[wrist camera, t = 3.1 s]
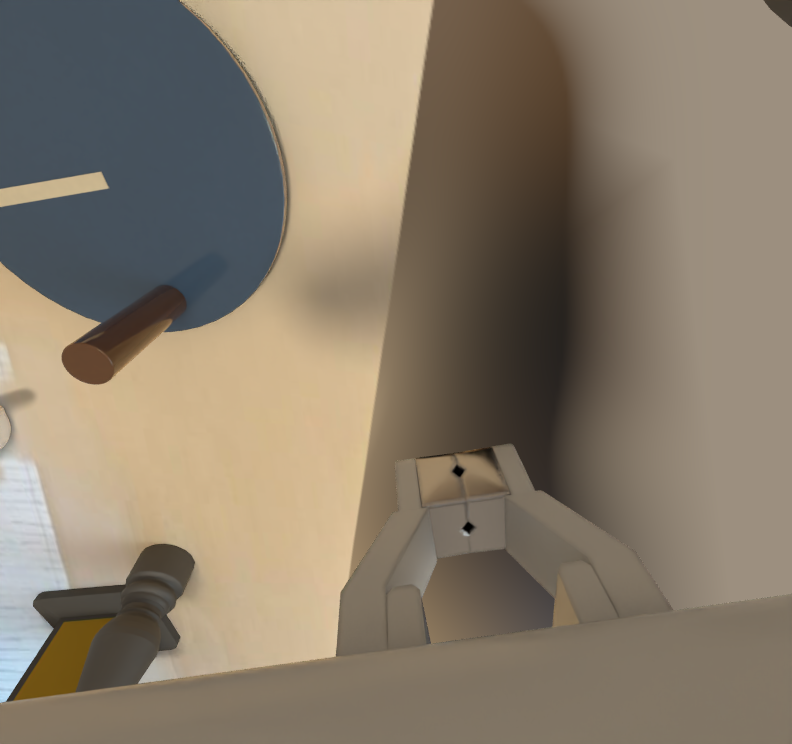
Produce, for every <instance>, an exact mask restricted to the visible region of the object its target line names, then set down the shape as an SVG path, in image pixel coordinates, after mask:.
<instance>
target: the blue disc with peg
mask: <svg viewBox="0 0 792 744" xmlns="http://www.w3.org/2000/svg"><path fill="white" fill-rule="evenodd" d="M286 209H287V191H286V178H285V171H284V166H283V161H282V156H281V151H280V147H279V144H278V141H277V138H276V135H275V131H274V128H273V125H272V123H271V121H270V118H269V116H268V114H267V112H266V109H265V107H264V105H263V102H262V100H261V98H260V97H259V95H258V93H257V91H256V90H255V88H254V86H253V84H252V83H251V81H250V79H249V77H248V76H247V74H246V73H245V71H244V70H243V68H242V67H241V66H240V64H239V63H238V61H237V60H236V59H235V57H234V56H233V54H232V53H231V52H230V50H229V49H228V48H227V47H226V46H225V45H224V43H223V42H222V41H221V40H220V39H219V38H218V37H217V36H216V34H215V33H214V32H213V31H212V30H211V29H210V28H209V27H208V26H207V25H206V24H205V23H204V22H203V21H202V20H201V19H200V18H199V17H198V16H196V15H195V14H194V13H193V12H192V11H191V10H190V9H189V8H188V7H187V6H185V5H184V4H183V3H181V2H180V1H179V0H0V262H1V263H2V264H3V265H4V266H5V267H6V268H8V269H9V270H10V271H11V272H12V273H14V274H15V275H16V276H17V277H19V278H20V279H21V280H22V281H23V282H25V283H26V284H28V285H29V286H30V287H32V288H33V289H35V290H36V291H38V292H39V293H41V294H42V295H44V296H45V297H47V298H49V299H50V300H52V301H54V302H56V303H57V304H59V305H61V306H63V307H64V308H66V309H69V310H71V311H73V312H75V313H77V314H80V315H82V316H84V317H86V318H89V319H92V320H95V321H98V322H101V324H99V325H98V326H96V327H95V328H93V329H92V330H90V331H89V332H87V333H86V334H85V335H83V336H82V337H80V338H79V339H77V340H76V341H74V342H73V343H71V344H70V345H68V346H67V347H66V348H65V349H64V350H63V353H62V362H63V365H64V367H65V368H66V370H67V371H68V372H69V373H70V374H71V375H72V376H73V377H75V378H76V379H78V380H80V381H82V382H85V383H88V384H103V383H106V382H108V381H109V380H111V379H112V378H113V377H114V376H115V375H116V374H117V373H118V372H119V371H120V370H122V369H123V368H124V367H125V366H126V365H127V364H128V363H129V362H130V361H132V360H133V359H134V358H135V357H136V356H137V355H138V354H139V353H140V352H141V351H143V350H144V349H145V348H146V347H147V346H148V345H149V344H150V343H151V342H153V341H154V340H155V339H156V338H157V337H158V336H159V335H160V334H161V333H162V332H173V331H183V330H188V329H192V328H196V327H201V326H203V325H206V324H209V323H211V322H214V321H216V320H218V319H220V318H222V317H224V316H225V315H227V314H229V313H231V312H232V311H234V310H235V309H236V308H237V307H239V306H240V305H241V304H243V303H244V302H245V301H246V300H247V299H248V298H249V297H250V296H251V295H252V294H253V293H254V292H255V291H256V289H257V288H258V287H259V286H260V284H261V283H262V281H263V280H264V278H265V277H266V275H267V274H268V273H269V271H270V269H271V267H272V265H273V263H274V261H275V259H276V257H277V254H278V251H279V248H280V245H281V241H282V238H283V233H284V227H285V222H286Z"/></svg>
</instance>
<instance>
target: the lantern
mask: <svg viewBox="0 0 792 744" xmlns="http://www.w3.org/2000/svg"><path fill="white" fill-rule="evenodd" d="M125 588H126V585H118V586H107V587H95V588H84V589H73V590H61V591H50V592H43V593H40V594H38V596H37V597H36V599H35V600H34V601H33V607H34V608H35V609H36V610H37V611H38V612H39V613H40V614H41V615H42V616H43V617H44V619H45V620H46V621H47V622H48V623H49V624H50V625H51V626H52V627H53V628H54V629H53V631H52V632H51V634H50V635H49V637H48V638H47V640H46V641H45V643H44V644H43V646H42V647H41V649H40V650H39V652H38V653H37V655H36V657H35V658H34V660H33V661H32V663H31V664H30V666H29V667H28V669H27V670H26V672H25V673H24V675H23V676H22V678H21V679H20V681H19V682H18V684H17V685H16V687H15V689H14V690H13V692H12V693H11V695H10V696H9V698H8V699H7V701H6V702H9V701H17V700H24V699H31V698H39V697H46V696H53V695H61V694H68V693H75V692H76V689H77V686H78V683H79V679H80V676H81V673H82V670H83V667H84V664H85V661H86V658H87V654H88V651H89V648H90V645H91V642H92V640H93V638H94V636H95V635H96V634H97V633H98V631H99V630H100V629H101V628H102V627H103V626H104V625H105V624H106V623H108V622H109V621H110V620H111V619H113V618H115V617H116V614H117V613H118V612H119V611H120V610H122V603H121V593H122V591H123V590H124V589H125ZM159 628H160V631H161V640H160V645H159V650H158V651H162V650H172V649H175V648H176V647H177V645H178V642H179V639H180V636H179V634H178V633H177V631H176V630H175V628H174V626H173V625H172V623H171V622H170V620H169V619H168V617H167V615H164V616H163V617H162V618H161V625H160V626H159Z"/></svg>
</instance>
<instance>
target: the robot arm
mask: <svg viewBox="0 0 792 744" xmlns="http://www.w3.org/2000/svg"><path fill="white" fill-rule="evenodd" d="M395 472H396V485H397V500H398V512H393V513H392V514H391V516H390V517H389V519H388V520H387V522H386V523H385V525H384V527H383V528H382V529H381V531H380V532H379V534H378V536H377V537H376V539H375V540H374V542H373V543H372V545H371V546H370V548H369V549H368V551H367V553H366V554H365V556H364V557H363V559H362V560H361V562H360V563H359V565H358V566H357V568H356V570H355V571H354V573H353V574H352V576H351V577H350V579H349V580H348V582H347V583H346V585H345V587H344V588H343V590H342V591H341V595H340V609H339V622H338V636H337V649H336V657H331V658H324V659H317V660H309V661H302V662H295V663H287V664H280V665H273V666H266V667H258V668H251V669H244V670H236V671H229V672H222V673H215V674H207V675H200V676H193V677H185V678H178V679H171V680H163V681H156V682H149V683H141V684H134V685H127V686H119V687H112V688H105V689H97V690H90V691H83V692H75V693H68V694H61V695H53V696H46V697H39V698H31V699H24V700H17V701H9V702H2V703H0V744H792V594H789V595H782V596H775V597H767V598H761V599H753V600H745V601H739V602H731V603H724V604H717V605H710V606H702V607H695V608H687V609H680V610H673V609H672V607H671V605H670V604H669V602H668V601H667V599H666V598H665V596H664V595H663V593H662V592H661V590H660V588H659V587H658V585H657V584H656V582H655V581H654V579H653V578H652V576H651V575H650V573H649V572H648V570H647V568H646V567H645V565H644V564H643V562H642V560H641V559H640V557H639V556H638V554H637V553H636V551H634V550H633V549H631V548H630V547H628V546H626V545H625V544H623V543H622V542H620V541H619V540H617V539H616V538H614V537H613V536H611V535H610V534H608V533H606V532H605V531H603V530H602V529H600V528H598V527H597V526H596V525H594V524H593V523H591V522H589V521H588V520H586V519H585V518H583V517H582V516H580V515H578V514H577V513H575V512H574V511H572V510H571V509H569V508H568V507H566V506H565V505H563V504H562V503H560V502H558V501H557V500H555V499H554V498H552V497H551V496H549V495H548V494H546V493H545V492H543V491H535V490H534V488H533V485H532V483H531V481H530V479H529V477H528V475H527V473H526V471H525V469H524V467H523V464H522V462H521V460H520V458H519V456H518V454H517V452H516V450H515V448H514V446H513V445H512V444H505V445H500V446H494V447H491V448H490V447H489V448H482V449H476V450H470V451H464V452H458V453H452V454H444V455H437V456H429V457H420V458H416V462H415V459H408V460H400V461H396V463H395ZM498 549H506V551H507V552H508V553H509V554H511V556H512V557H513V558H514V559H515V560H516V561H517V562H518V563H519V564H520V565H521V566H522V567H523V568H524V569H525V570H526V571H527V572H528V573H529V574H530V575H531V576H533V578H535V580H536V581H538V582H539V583H540V585H541V586H543V587H544V588H545V589H546V590H547V591H548V592H549V593H550V594H551V595H552V596H553V597H554V598H555V605H554V615H553V626H552V627H549V628H542V629H535V630H528V631H520V632H513V633H506V634H499V635H491V636H484V637H477V638H470V639H462V640H455V641H448V642H441V643H433V644H431V642H430V637H429V632H428V627H427V622H426V617H425V612H424V607H423V603H422V597H423V594H424V591H425V589H426V587H427V584H428V582H429V579H430V577H431V574H432V572H433V569H434V567H435V564H436V562H437V558H442V557H448V556H454V555H460V554H466V553H472V552H481V551H489V550H498Z"/></svg>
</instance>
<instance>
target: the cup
mask: <svg viewBox="0 0 792 744" xmlns="http://www.w3.org/2000/svg"><path fill="white" fill-rule="evenodd" d="M10 434H11V425H10V421H9V418H8V416H7V415H6V413H5V411H4V408H3V407H2V406H0V450H1V449H2V448H3V446H4V445H5V444H6V443H7V441H8V439H9V437H10Z"/></svg>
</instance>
